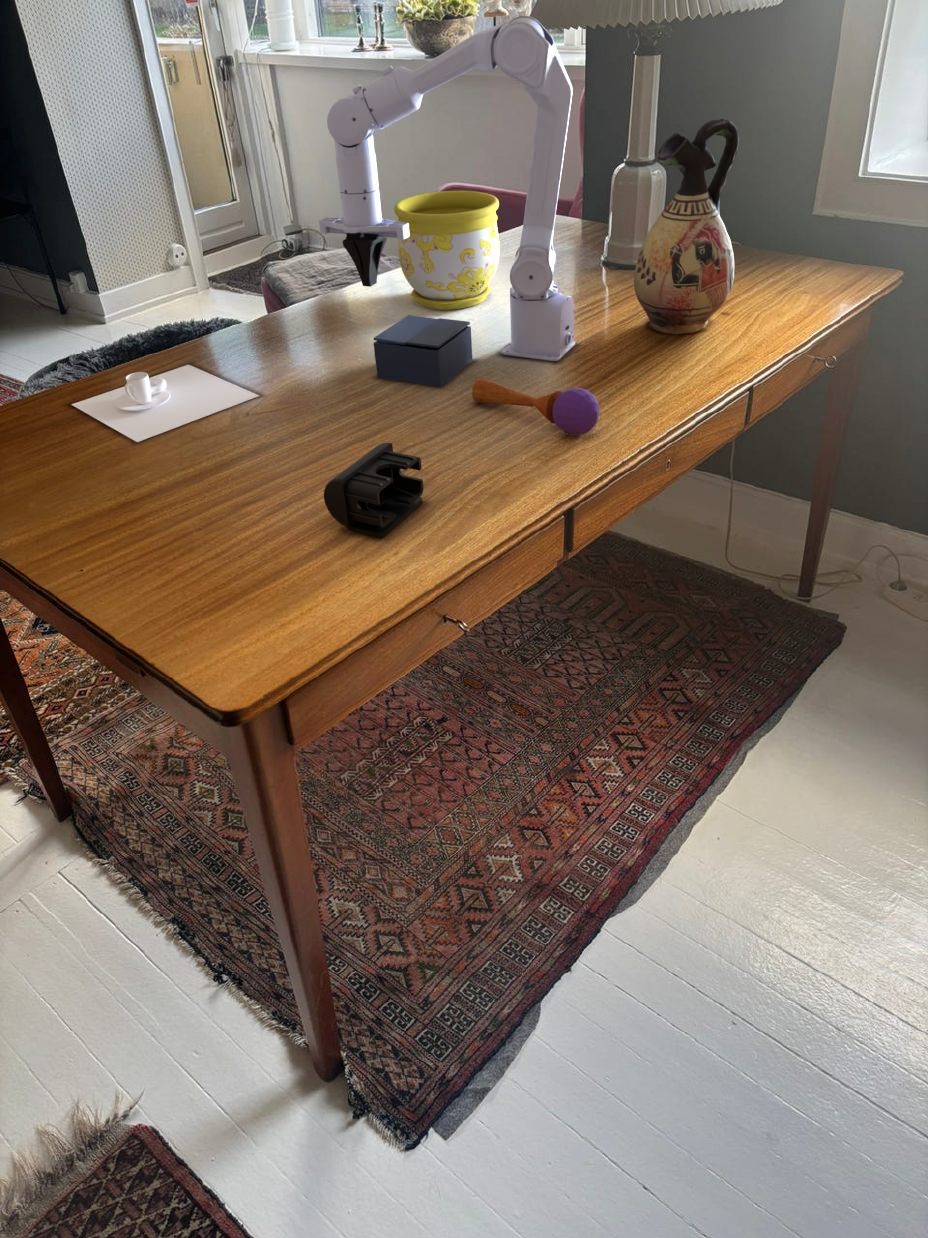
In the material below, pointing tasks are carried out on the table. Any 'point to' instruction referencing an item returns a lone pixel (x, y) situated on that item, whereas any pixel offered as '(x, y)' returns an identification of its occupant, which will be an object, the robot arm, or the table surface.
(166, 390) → the teacup and saucer
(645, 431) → the table surface
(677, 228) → the ceramic jug
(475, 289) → the flowerpot
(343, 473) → the end cap
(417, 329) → the flap
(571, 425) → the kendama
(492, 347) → the table surface
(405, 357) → the carton
